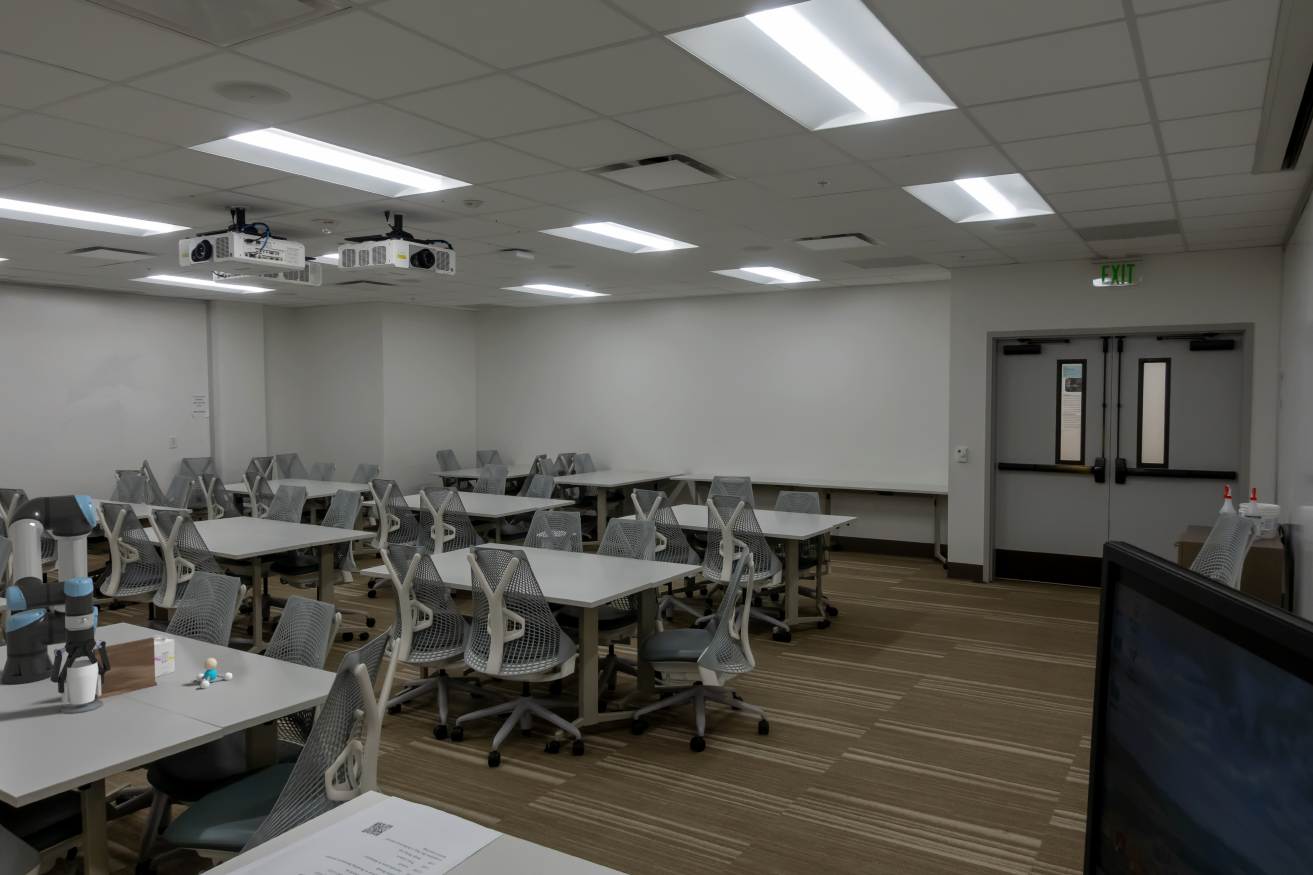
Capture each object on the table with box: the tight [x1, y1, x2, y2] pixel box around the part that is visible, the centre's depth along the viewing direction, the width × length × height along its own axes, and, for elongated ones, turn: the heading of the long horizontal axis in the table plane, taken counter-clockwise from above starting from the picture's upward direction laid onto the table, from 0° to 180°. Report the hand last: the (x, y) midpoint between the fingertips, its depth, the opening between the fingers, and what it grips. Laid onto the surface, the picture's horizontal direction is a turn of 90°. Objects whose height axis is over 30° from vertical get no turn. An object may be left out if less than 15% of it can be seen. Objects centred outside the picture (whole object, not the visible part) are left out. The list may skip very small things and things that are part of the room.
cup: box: [65, 659, 98, 705], centre depth 271 cm, size 9×9×12 cm
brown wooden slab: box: [92, 636, 158, 700], centre depth 287 cm, size 4×18×16 cm, turn 143°
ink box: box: [149, 633, 176, 678], centre depth 307 cm, size 9×8×13 cm
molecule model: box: [195, 657, 233, 690], centre depth 296 cm, size 12×12×9 cm
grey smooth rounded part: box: [60, 699, 104, 715], centre depth 272 cm, size 11×11×1 cm
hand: (81, 698), depth 272 cm, fingers closed on cup, 9 cm apart
